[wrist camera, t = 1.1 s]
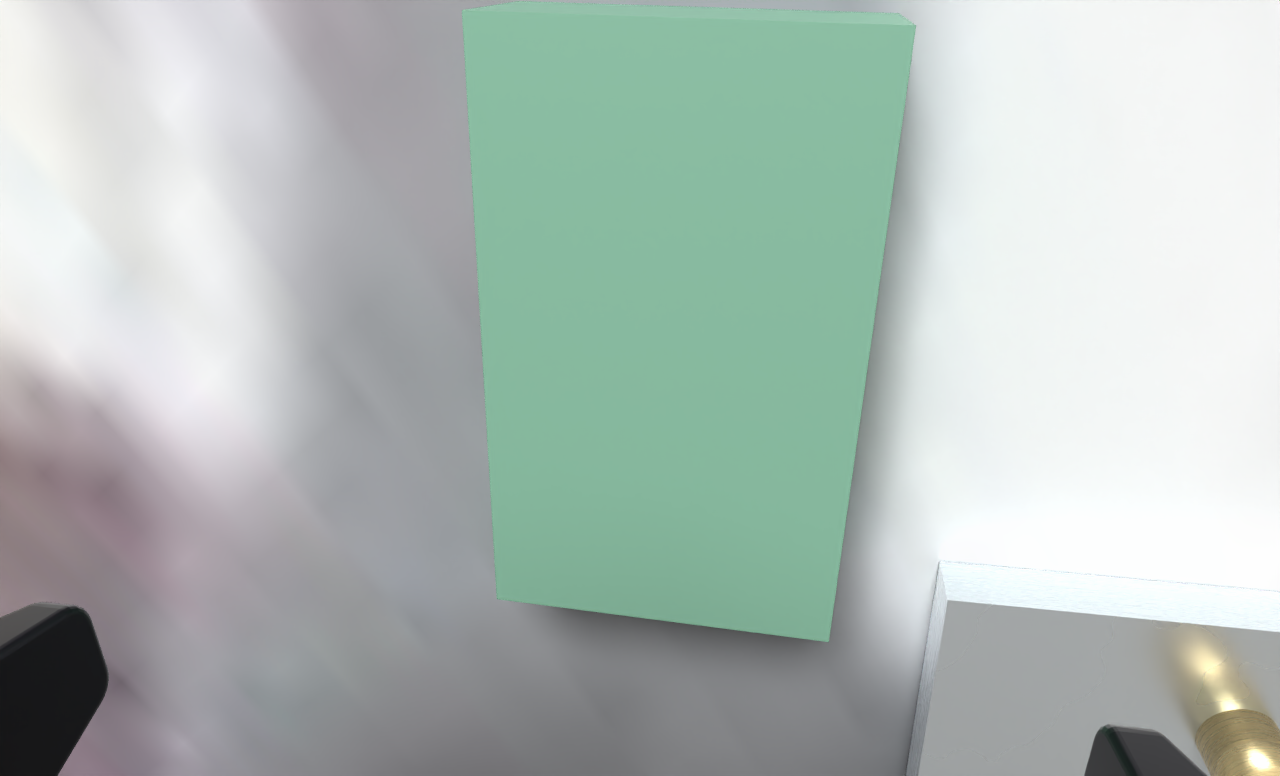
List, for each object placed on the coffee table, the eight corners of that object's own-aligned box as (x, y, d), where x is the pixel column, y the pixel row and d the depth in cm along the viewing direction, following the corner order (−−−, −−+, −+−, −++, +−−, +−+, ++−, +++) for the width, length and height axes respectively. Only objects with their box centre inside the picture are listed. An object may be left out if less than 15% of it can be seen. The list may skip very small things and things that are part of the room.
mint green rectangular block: (826, 542, 19) (828, 641, 16) (540, 510, 19) (496, 599, 17) (896, 11, 14) (915, 25, 12) (524, 0, 15) (461, 10, 12)
